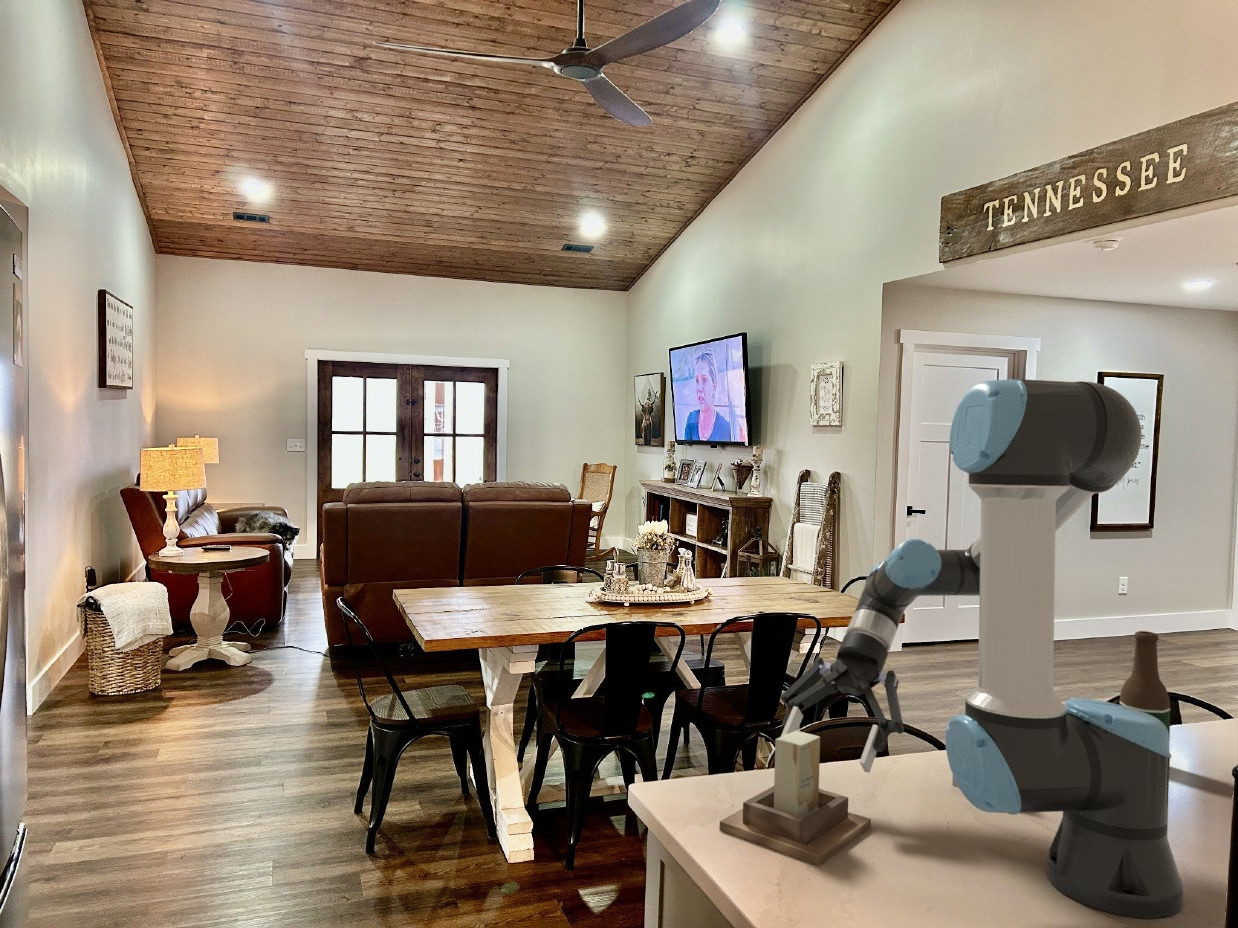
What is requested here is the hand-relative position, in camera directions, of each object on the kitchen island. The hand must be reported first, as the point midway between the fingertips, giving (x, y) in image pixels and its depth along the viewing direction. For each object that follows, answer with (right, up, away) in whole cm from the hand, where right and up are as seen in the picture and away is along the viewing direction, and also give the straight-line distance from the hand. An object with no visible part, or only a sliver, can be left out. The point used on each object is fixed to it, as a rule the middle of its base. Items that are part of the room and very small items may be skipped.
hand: (822, 756), depth 132 cm
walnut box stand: (-5, -8, -6) cm, 12 cm away
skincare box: (-5, -7, -6) cm, 11 cm away
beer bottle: (+63, -9, +22) cm, 68 cm away
